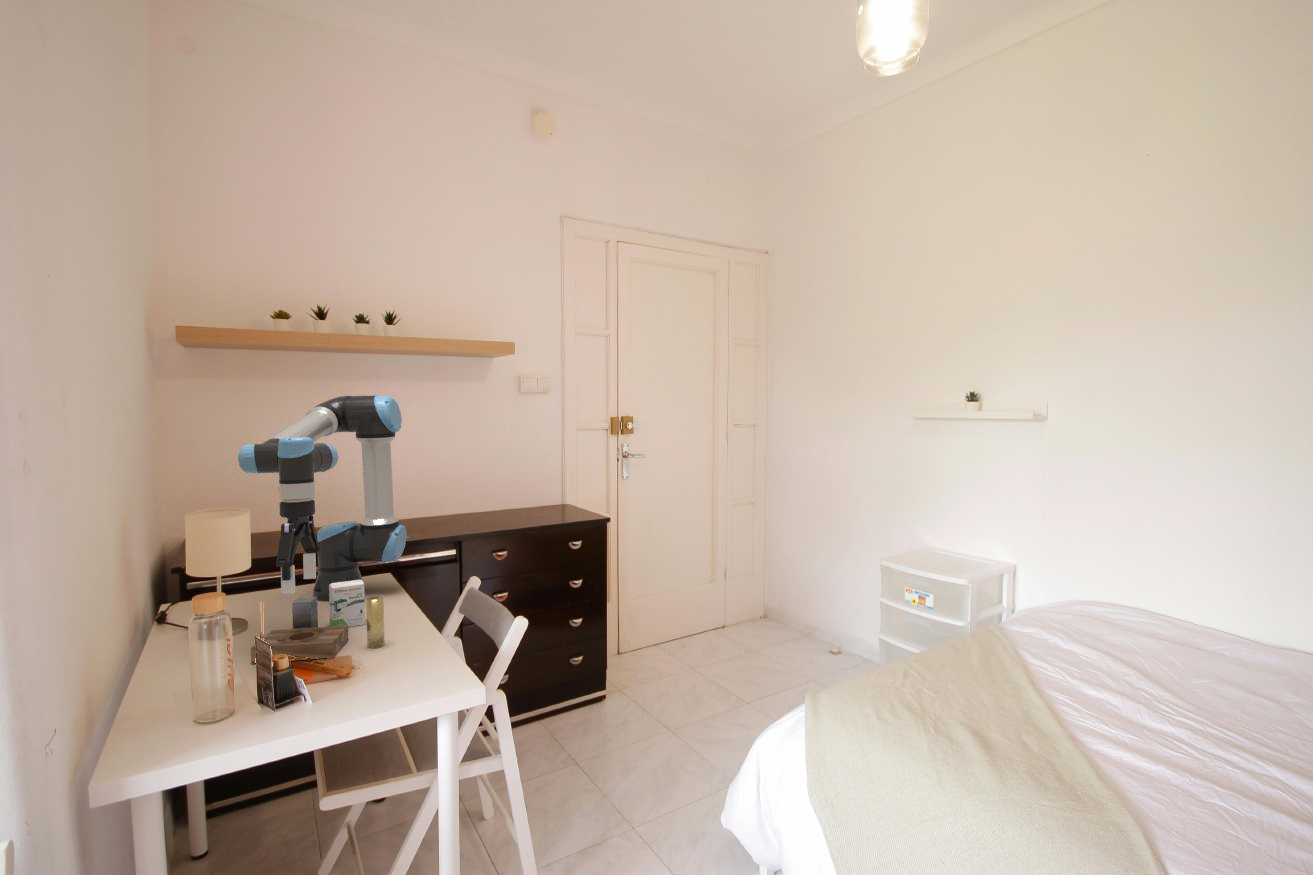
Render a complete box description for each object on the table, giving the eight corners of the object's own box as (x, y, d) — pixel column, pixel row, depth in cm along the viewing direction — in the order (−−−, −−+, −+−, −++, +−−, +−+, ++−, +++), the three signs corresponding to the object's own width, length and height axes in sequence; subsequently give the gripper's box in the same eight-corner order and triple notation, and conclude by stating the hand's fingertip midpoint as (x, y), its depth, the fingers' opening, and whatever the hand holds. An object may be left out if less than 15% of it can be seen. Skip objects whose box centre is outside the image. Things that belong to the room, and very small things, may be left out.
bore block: (273, 645, 159) (272, 630, 159) (348, 640, 162) (348, 625, 162) (251, 664, 147) (250, 647, 147) (332, 658, 150) (332, 642, 150)
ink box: (331, 630, 170) (330, 587, 169) (329, 625, 174) (328, 583, 173) (366, 624, 174) (364, 582, 174) (363, 619, 179) (362, 578, 178)
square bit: (300, 634, 167) (298, 597, 166) (318, 633, 167) (317, 596, 167) (293, 640, 162) (292, 602, 162) (312, 639, 163) (310, 601, 163)
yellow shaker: (369, 642, 160) (368, 597, 160) (386, 641, 161) (385, 596, 160) (365, 648, 156) (364, 601, 156) (382, 647, 157) (381, 600, 156)
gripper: (300, 494, 164) (302, 573, 165) (257, 507, 140) (260, 600, 141) (331, 493, 166) (333, 572, 166) (293, 506, 141) (296, 599, 142)
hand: (299, 585), depth 154 cm, fingers open, 13 cm apart
